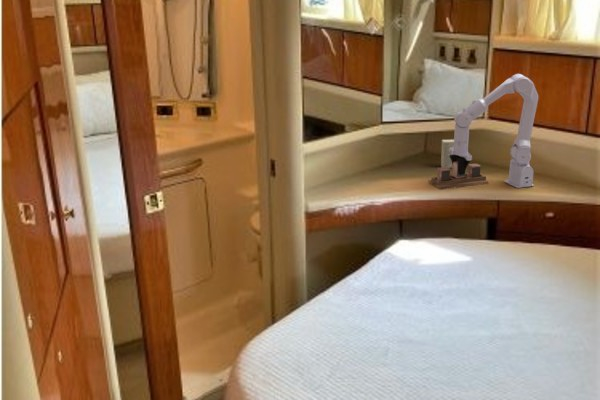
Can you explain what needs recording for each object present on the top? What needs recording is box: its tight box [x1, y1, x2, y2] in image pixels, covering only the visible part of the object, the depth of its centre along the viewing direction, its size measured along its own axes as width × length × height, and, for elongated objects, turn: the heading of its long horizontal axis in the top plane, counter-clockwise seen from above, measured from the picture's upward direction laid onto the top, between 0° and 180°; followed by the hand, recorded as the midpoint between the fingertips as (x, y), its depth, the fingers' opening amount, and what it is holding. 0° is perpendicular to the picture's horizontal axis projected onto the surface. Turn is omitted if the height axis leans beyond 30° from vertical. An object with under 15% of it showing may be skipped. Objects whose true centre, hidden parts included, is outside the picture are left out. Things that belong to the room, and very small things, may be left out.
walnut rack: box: [428, 163, 489, 190], centre depth 242 cm, size 10×22×7 cm, turn 106°
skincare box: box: [440, 138, 454, 169], centre depth 264 cm, size 6×4×12 cm
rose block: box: [452, 162, 467, 178], centre depth 242 cm, size 3×4×6 cm
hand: (459, 173), depth 242 cm, fingers closed on rose block, 3 cm apart
